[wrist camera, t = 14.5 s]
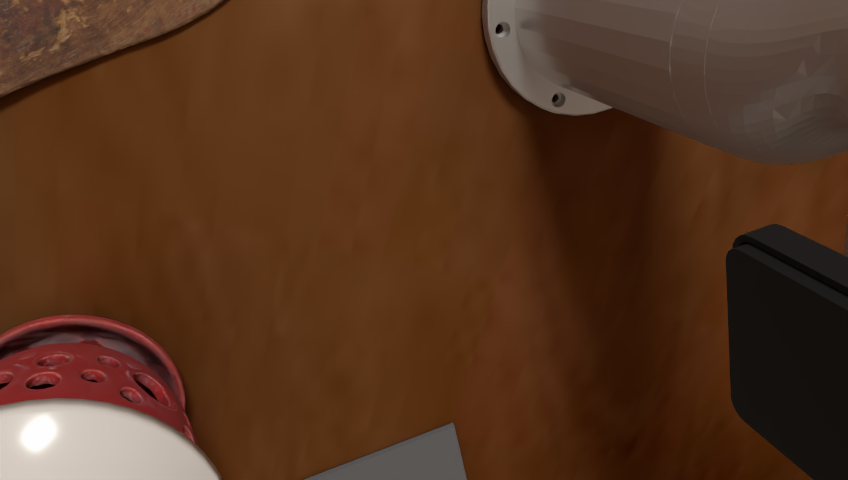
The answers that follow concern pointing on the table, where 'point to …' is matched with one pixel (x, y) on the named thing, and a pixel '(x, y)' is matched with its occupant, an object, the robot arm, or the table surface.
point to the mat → (407, 460)
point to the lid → (94, 444)
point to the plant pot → (91, 366)
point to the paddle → (80, 32)
